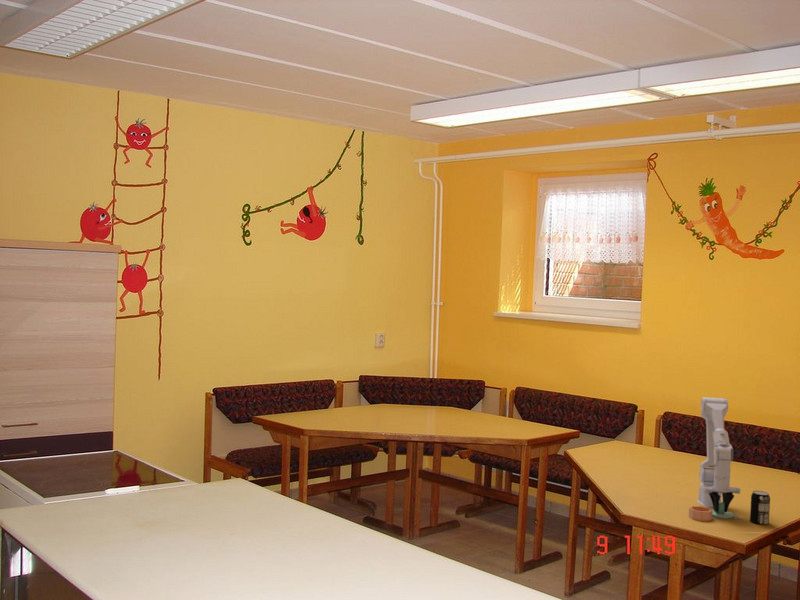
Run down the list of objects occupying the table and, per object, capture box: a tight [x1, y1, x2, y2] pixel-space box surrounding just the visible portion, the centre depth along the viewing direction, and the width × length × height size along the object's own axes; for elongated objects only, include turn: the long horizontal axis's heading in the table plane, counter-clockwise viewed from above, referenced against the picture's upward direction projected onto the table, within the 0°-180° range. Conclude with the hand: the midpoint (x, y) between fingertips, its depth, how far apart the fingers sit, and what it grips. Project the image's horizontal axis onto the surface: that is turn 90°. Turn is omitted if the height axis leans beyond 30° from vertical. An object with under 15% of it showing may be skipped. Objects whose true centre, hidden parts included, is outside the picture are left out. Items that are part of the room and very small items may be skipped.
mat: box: [712, 510, 743, 520], centre depth 320 cm, size 13×12×1 cm
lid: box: [710, 501, 734, 520], centre depth 318 cm, size 10×10×5 cm
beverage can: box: [749, 490, 771, 526], centre depth 310 cm, size 7×7×12 cm
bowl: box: [688, 505, 713, 522], centre depth 313 cm, size 8×8×4 cm
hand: (720, 511), depth 318 cm, fingers closed on lid, 3 cm apart
